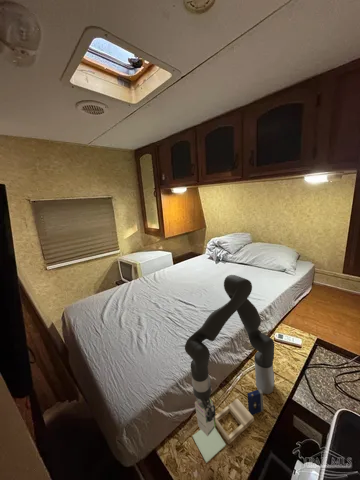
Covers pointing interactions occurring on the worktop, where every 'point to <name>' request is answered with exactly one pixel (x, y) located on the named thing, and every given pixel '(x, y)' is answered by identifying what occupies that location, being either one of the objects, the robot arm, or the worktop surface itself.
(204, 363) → the robot arm
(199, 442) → the sage mat
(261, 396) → the cassette player
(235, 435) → the wooden frame
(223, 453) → the worktop surface
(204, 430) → the syrup box
